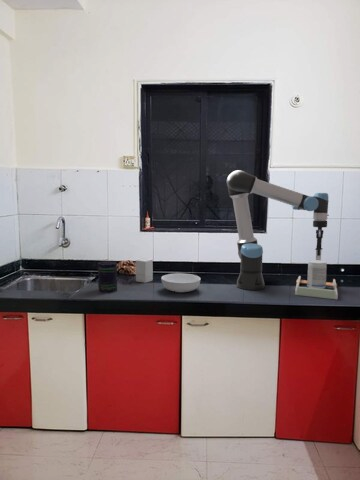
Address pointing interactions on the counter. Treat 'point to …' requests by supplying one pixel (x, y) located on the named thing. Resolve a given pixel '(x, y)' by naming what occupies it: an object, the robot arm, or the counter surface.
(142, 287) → the counter surface
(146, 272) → the supplement box
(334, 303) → the counter surface
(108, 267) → the storage jar
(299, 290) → the channel
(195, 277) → the serving bowl
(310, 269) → the supplement tub
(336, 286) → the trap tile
